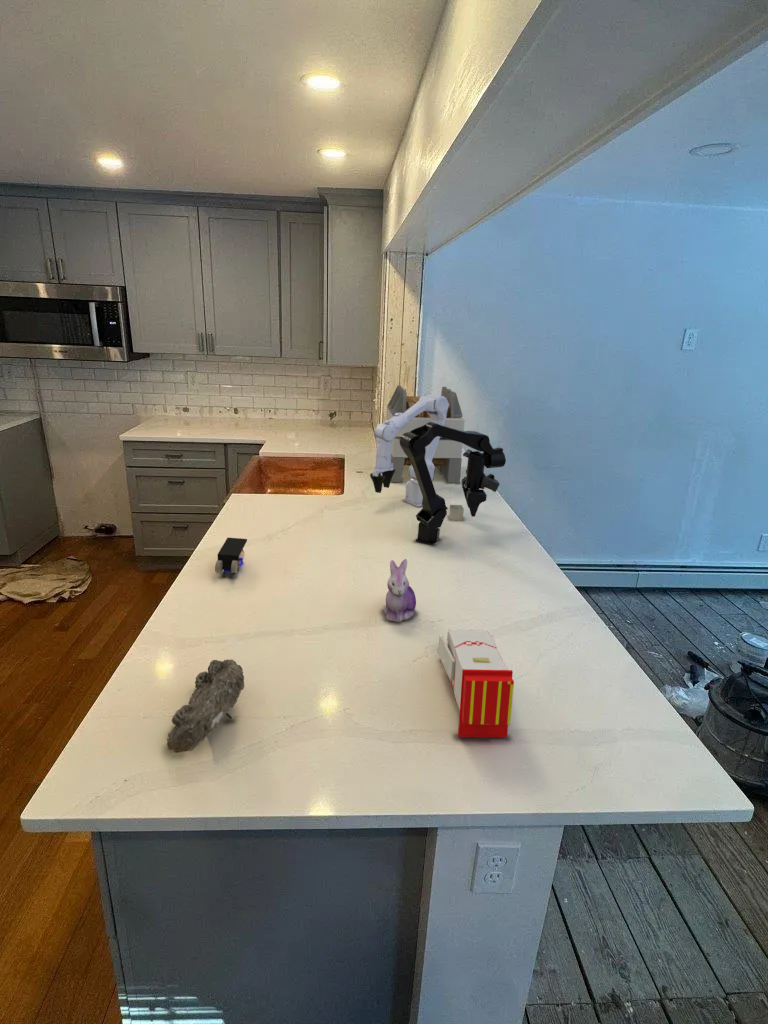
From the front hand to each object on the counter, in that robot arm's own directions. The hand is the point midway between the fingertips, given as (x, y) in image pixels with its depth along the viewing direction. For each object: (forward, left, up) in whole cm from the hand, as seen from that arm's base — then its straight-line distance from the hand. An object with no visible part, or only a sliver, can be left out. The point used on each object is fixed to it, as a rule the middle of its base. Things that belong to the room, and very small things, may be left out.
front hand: (471, 511), depth 199 cm
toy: (+25, -86, -9) cm, 90 cm away
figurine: (0, -64, -9) cm, 64 cm away
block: (-9, +14, -9) cm, 18 cm away
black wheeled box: (-54, -63, -9) cm, 84 cm away
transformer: (-44, +65, -9) cm, 79 cm away
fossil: (-17, -116, -9) cm, 118 cm away
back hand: (-38, +7, 0) cm, 38 cm away
